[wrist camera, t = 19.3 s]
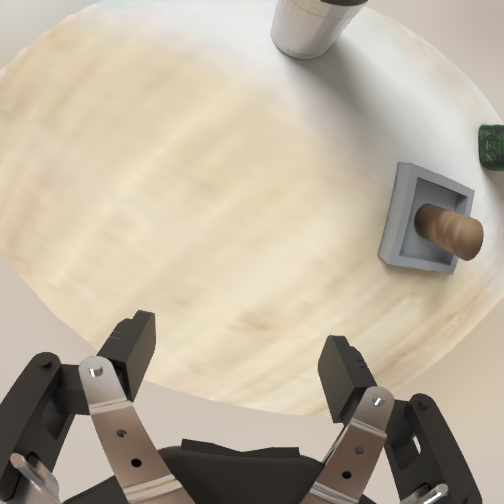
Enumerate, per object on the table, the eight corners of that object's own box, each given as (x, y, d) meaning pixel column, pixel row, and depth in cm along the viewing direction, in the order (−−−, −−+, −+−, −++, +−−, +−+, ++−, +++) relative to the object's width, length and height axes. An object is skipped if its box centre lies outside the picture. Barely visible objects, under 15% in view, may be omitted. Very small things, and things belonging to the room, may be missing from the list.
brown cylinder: (418, 200, 39) (464, 215, 28) (442, 207, 39) (487, 224, 28) (410, 234, 41) (452, 257, 29) (434, 239, 41) (476, 263, 30)
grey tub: (398, 162, 38) (411, 163, 34) (461, 187, 39) (474, 190, 35) (377, 255, 43) (387, 264, 39) (441, 266, 44) (452, 274, 40)
